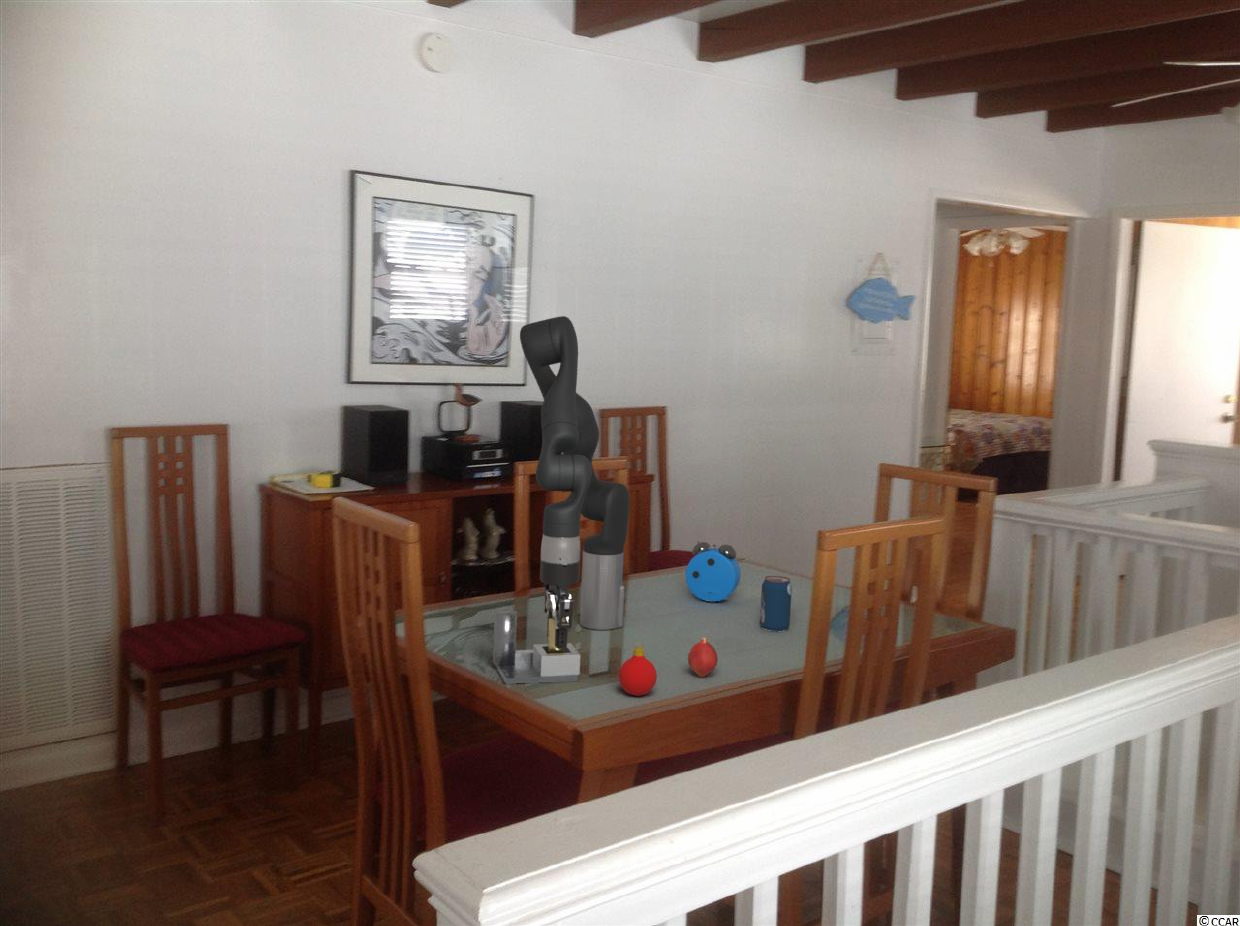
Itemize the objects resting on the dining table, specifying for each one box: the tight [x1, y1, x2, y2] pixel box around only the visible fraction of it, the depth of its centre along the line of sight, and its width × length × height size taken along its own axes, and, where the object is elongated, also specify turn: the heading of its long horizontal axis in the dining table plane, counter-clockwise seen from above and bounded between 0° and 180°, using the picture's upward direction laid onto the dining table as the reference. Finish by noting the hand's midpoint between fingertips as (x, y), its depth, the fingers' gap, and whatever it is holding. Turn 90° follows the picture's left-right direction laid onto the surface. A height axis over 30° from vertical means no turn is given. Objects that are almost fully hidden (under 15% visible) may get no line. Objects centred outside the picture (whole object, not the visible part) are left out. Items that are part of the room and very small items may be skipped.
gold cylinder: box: [547, 617, 565, 654], centre depth 209 cm, size 3×3×10 cm
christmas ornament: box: [618, 642, 658, 697], centre depth 200 cm, size 7×7×10 cm
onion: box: [687, 637, 719, 678], centre depth 213 cm, size 6×6×8 cm
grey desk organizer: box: [492, 609, 581, 685], centre depth 210 cm, size 15×12×11 cm
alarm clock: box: [685, 541, 741, 602], centre depth 275 cm, size 13×6×15 cm, turn 71°
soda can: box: [759, 575, 793, 631], centre depth 251 cm, size 7×7×12 cm
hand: (556, 642), depth 209 cm, fingers open, 6 cm apart
